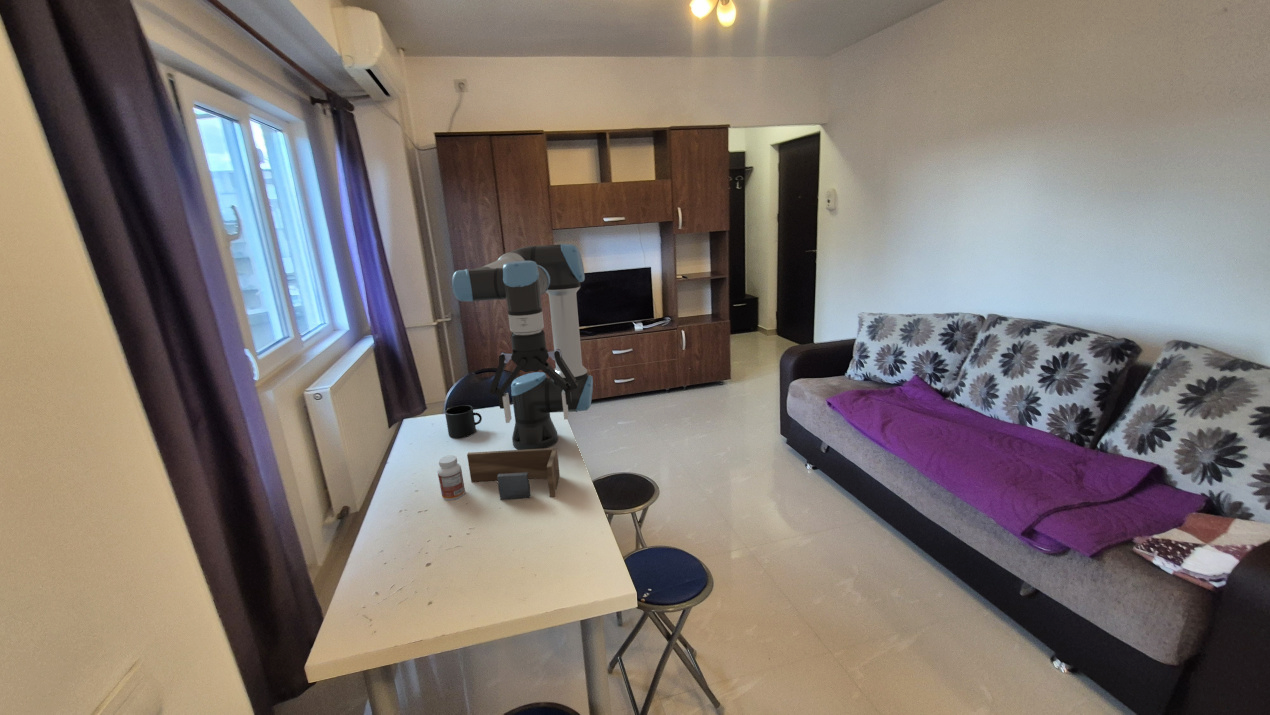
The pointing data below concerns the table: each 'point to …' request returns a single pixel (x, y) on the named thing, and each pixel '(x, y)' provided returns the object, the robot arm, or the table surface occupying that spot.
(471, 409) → the mug
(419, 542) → the table surface
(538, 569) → the table surface
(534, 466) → the wooden corner wall
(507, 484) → the dark rectangular block
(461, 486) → the pill bottle
